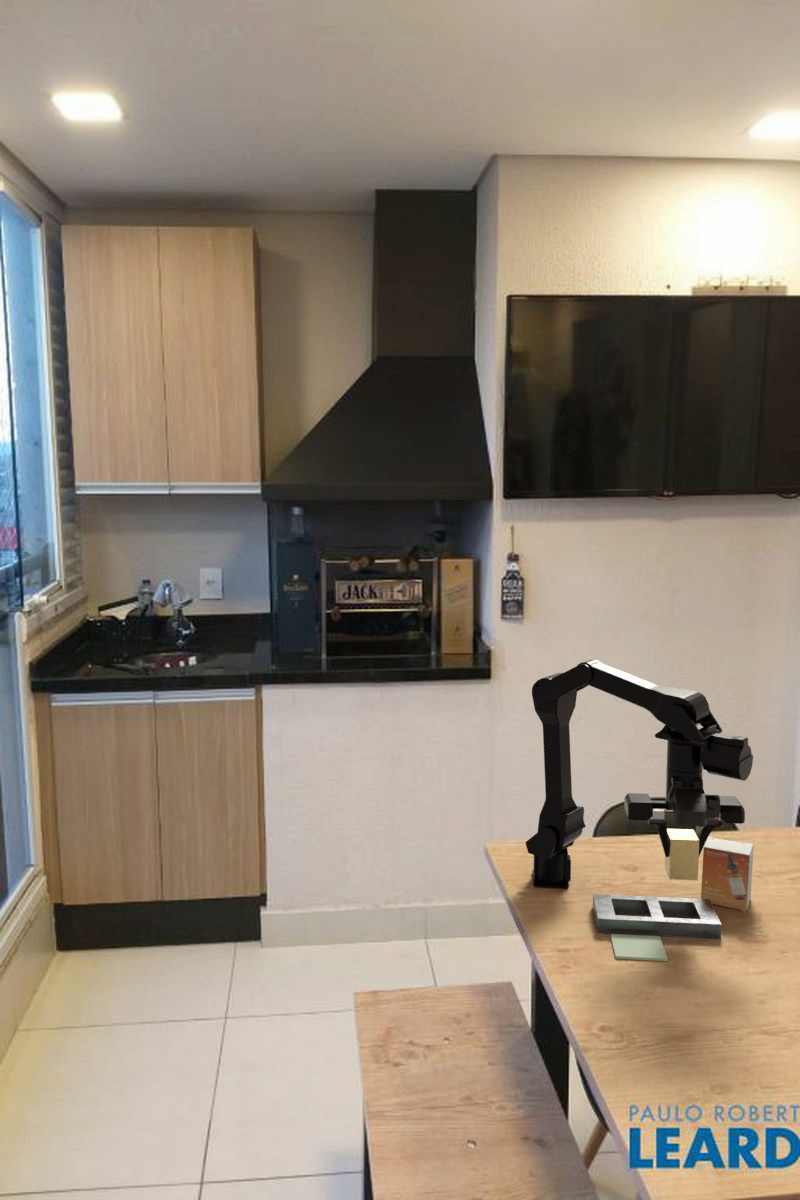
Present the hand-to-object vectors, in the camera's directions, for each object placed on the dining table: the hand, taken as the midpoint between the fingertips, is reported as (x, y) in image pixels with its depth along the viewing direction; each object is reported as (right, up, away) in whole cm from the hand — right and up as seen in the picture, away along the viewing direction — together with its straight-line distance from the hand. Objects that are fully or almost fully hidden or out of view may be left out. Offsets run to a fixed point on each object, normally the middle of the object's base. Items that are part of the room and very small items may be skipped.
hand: (681, 856), depth 153 cm
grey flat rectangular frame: (-4, -12, +2) cm, 13 cm away
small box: (+11, -11, +10) cm, 18 cm away
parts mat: (-9, -13, -6) cm, 17 cm away
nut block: (0, -3, 0) cm, 3 cm away
